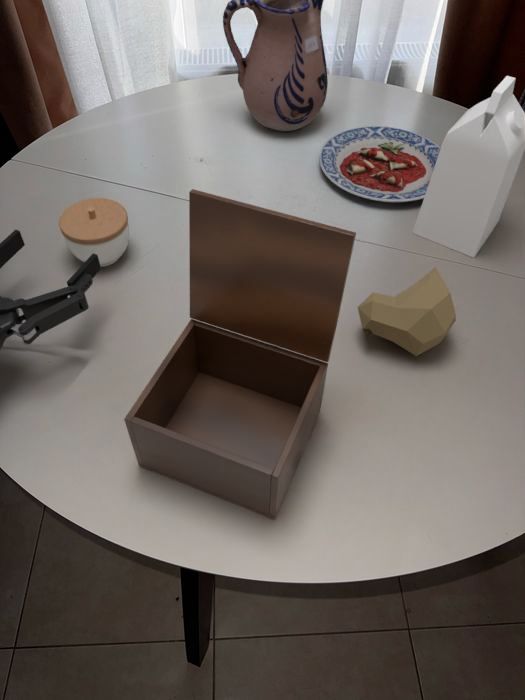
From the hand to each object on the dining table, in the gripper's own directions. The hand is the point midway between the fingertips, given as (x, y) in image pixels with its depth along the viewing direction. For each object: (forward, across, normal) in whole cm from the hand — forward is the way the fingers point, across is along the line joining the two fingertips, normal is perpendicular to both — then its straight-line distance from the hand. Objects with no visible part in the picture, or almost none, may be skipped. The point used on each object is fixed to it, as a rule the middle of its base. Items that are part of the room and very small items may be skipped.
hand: (58, 248), depth 86 cm
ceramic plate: (+53, +37, -9) cm, 65 cm away
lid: (-5, +35, +11) cm, 37 cm away
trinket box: (+9, 0, -9) cm, 13 cm away
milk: (+41, +54, -9) cm, 68 cm away
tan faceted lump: (+11, +51, -9) cm, 53 cm away
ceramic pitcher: (+61, +11, -8) cm, 63 cm away
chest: (-15, +35, -9) cm, 39 cm away
